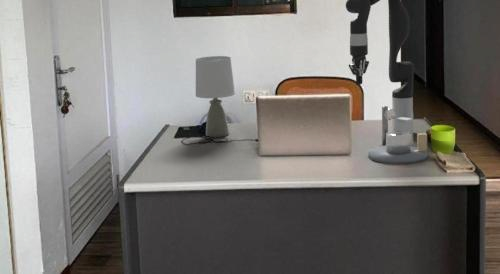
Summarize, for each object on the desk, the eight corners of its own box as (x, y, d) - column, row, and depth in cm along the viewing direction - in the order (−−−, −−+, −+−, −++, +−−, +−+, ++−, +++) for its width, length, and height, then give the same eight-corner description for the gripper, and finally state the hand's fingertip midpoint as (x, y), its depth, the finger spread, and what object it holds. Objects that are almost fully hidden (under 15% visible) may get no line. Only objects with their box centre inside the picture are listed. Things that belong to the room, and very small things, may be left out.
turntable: (363, 150, 323) (362, 130, 321) (419, 147, 324) (419, 127, 322) (374, 165, 299) (374, 143, 297) (435, 161, 300) (435, 140, 298)
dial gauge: (383, 145, 330) (382, 104, 326) (403, 148, 324) (403, 106, 319) (373, 149, 324) (372, 108, 320) (393, 152, 318) (393, 110, 313)
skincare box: (396, 145, 330) (396, 118, 328) (402, 143, 333) (402, 116, 330) (406, 147, 326) (406, 120, 323) (413, 145, 328) (413, 118, 325)
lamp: (191, 138, 362) (186, 60, 353) (208, 129, 378) (204, 55, 370) (227, 140, 354) (222, 61, 346) (242, 131, 371) (239, 55, 363)
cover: (383, 149, 316) (383, 129, 314) (407, 148, 317) (407, 128, 315) (389, 155, 306) (389, 135, 304) (414, 153, 307) (414, 133, 305)
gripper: (357, 46, 316) (358, 87, 320) (374, 42, 326) (374, 82, 330) (342, 45, 321) (343, 85, 325) (359, 42, 331) (360, 81, 335)
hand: (359, 84), depth 328 cm, fingers closed
